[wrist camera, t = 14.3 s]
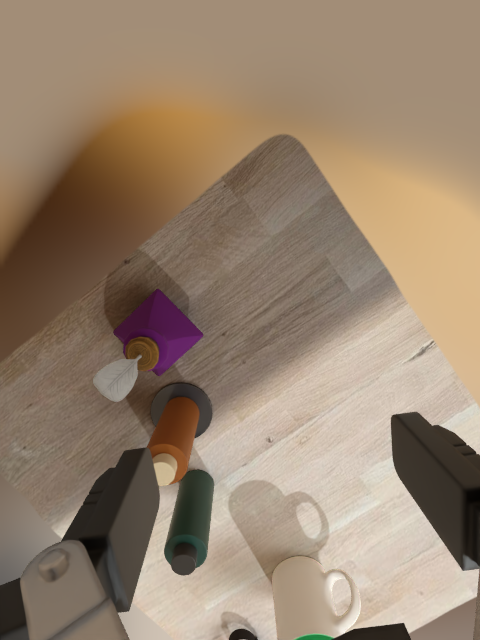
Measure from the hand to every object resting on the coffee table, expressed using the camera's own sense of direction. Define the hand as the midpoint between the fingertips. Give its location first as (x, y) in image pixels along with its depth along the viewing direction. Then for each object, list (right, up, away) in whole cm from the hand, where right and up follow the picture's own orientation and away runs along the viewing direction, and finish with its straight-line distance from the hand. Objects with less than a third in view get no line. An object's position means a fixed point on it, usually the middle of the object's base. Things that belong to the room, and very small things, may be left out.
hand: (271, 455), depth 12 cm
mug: (+9, -32, +40) cm, 52 cm away
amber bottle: (-9, -8, +34) cm, 36 cm away
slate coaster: (-9, -8, +35) cm, 36 cm away
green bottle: (-7, -18, +37) cm, 42 cm away
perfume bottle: (-10, +4, +32) cm, 34 cm away
